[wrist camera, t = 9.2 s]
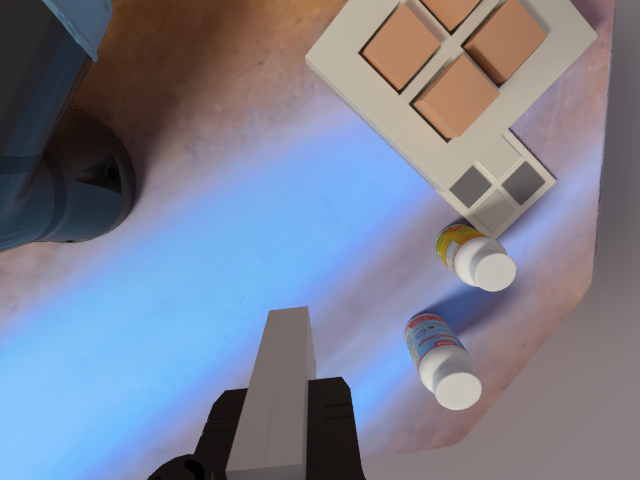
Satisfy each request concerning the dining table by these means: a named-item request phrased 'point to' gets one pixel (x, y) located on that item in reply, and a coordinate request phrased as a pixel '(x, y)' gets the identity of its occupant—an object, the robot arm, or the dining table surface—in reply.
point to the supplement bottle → (475, 258)
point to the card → (499, 186)
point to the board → (397, 107)
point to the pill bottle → (442, 361)
